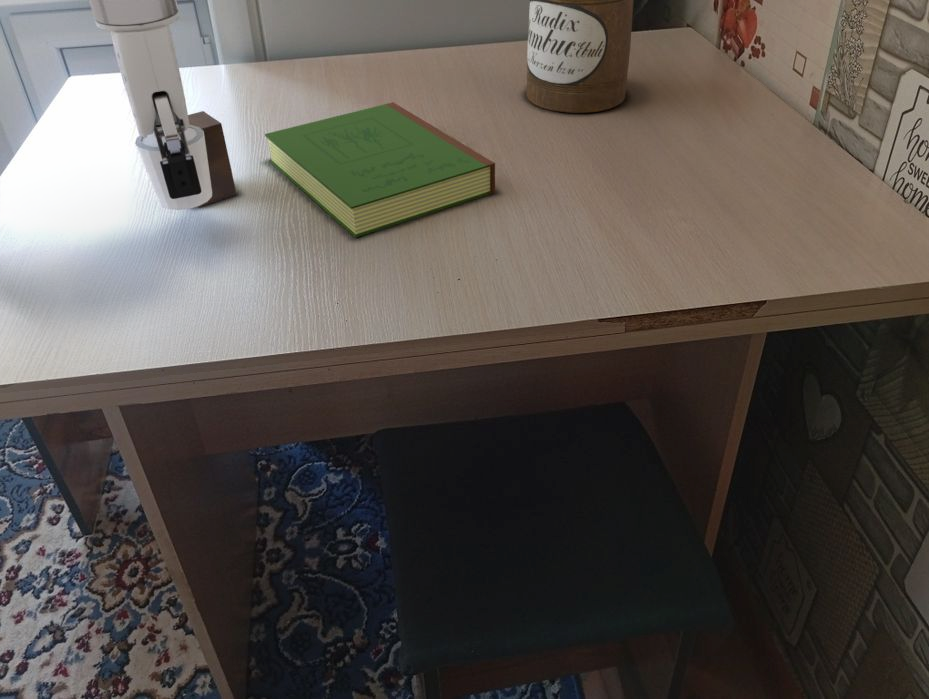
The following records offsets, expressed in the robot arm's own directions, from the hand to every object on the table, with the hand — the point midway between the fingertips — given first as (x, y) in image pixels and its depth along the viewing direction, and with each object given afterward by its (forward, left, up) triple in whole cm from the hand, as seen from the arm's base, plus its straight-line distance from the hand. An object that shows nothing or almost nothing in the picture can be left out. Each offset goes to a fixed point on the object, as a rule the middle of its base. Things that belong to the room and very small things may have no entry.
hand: (180, 179), depth 84 cm
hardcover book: (+23, +5, -7) cm, 24 cm away
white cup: (0, 0, -2) cm, 2 cm away
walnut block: (+3, +9, -6) cm, 11 cm away
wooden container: (+59, +18, -7) cm, 62 cm away
